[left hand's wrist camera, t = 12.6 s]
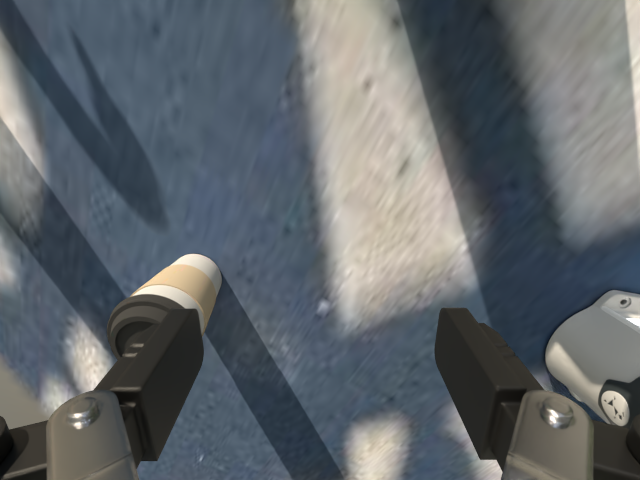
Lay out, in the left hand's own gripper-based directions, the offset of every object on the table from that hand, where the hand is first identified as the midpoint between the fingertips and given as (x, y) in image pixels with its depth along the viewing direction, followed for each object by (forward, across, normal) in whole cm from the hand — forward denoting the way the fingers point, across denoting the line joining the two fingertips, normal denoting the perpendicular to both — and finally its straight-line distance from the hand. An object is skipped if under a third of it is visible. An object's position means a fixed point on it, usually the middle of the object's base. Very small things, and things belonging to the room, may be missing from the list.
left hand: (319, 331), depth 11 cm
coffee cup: (+32, -17, -14) cm, 39 cm away
